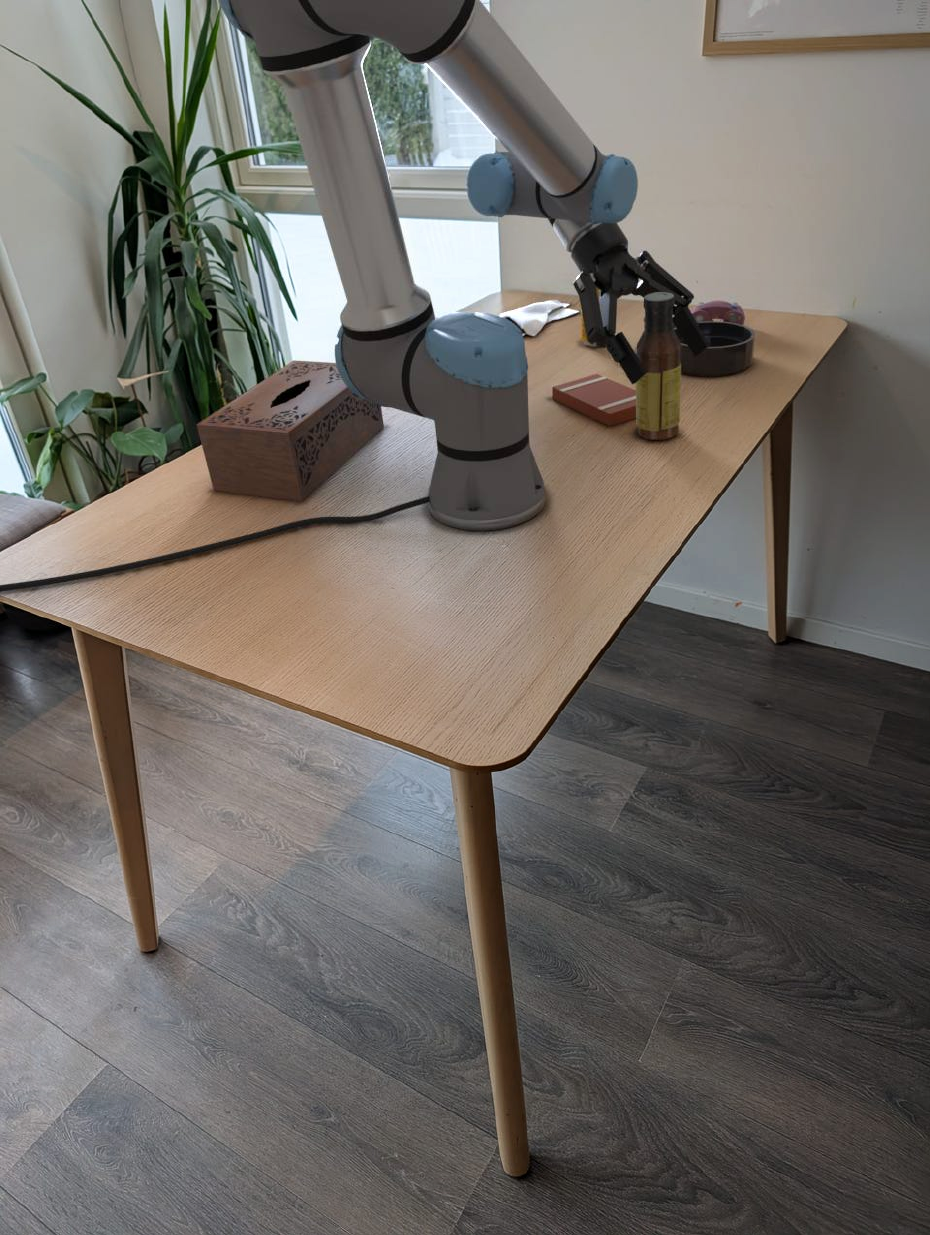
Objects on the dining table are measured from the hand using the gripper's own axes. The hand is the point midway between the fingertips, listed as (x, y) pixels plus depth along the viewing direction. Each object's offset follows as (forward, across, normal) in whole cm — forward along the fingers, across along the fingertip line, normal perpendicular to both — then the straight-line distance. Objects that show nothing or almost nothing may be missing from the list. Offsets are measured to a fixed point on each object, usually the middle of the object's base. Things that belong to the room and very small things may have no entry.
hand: (672, 364), depth 123 cm
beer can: (-18, +26, +34) cm, 46 cm away
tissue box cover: (-18, -40, +34) cm, 55 cm away
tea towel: (-4, +3, +19) cm, 19 cm away
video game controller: (-9, +44, +25) cm, 51 cm away
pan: (-2, +28, +18) cm, 34 cm away
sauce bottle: (+6, 0, +9) cm, 11 cm away
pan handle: (-13, +31, +24) cm, 41 cm away
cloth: (-33, +27, +48) cm, 65 cm away
